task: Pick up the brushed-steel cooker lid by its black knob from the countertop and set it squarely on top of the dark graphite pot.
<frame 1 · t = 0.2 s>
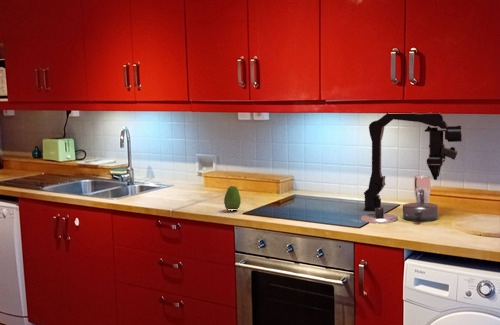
hand: (436, 178, 254), 14 cm above the worktop, tool pointing down, fingers open, 9 cm apart
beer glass: (422, 211, 258), on the worktop
avocado: (232, 211, 277), on the worktop
lid: (379, 220, 246), on the worktop
pot: (420, 217, 245), on the worktop
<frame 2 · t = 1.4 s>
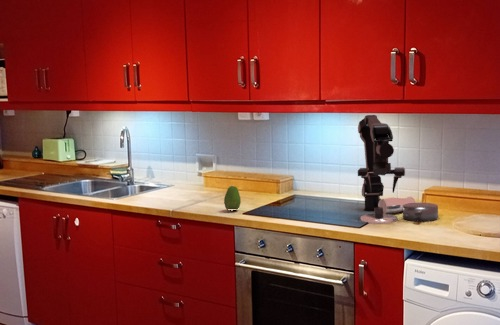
hand: (381, 192, 245), 11 cm above the worktop, tool pointing down, fingers open, 9 cm apart
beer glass: (411, 203, 260), point 3 cm above the worktop
everything else where it was.
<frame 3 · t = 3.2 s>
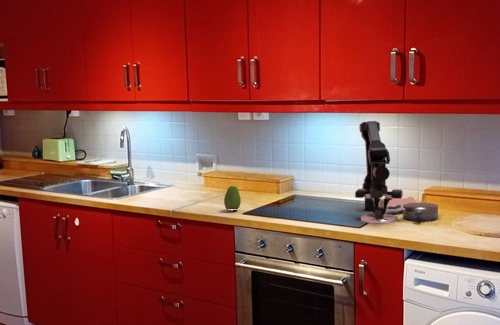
hand: (379, 214, 246), 2 cm above the worktop, tool pointing down, fingers closed on lid, 3 cm apart
lid: (379, 220, 246), on the worktop, touching gripper
everything else where it was.
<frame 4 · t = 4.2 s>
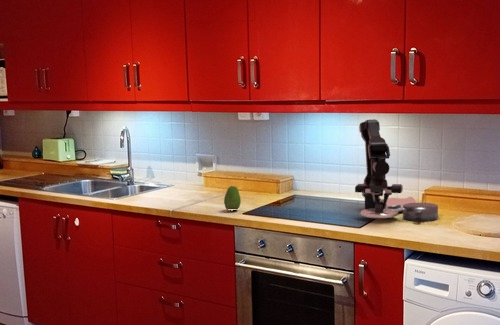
hand: (379, 208, 246), 4 cm above the worktop, tool pointing down, fingers closed on lid, 3 cm apart
lid: (379, 214, 245), point 2 cm above the worktop, touching gripper
everything else where it was.
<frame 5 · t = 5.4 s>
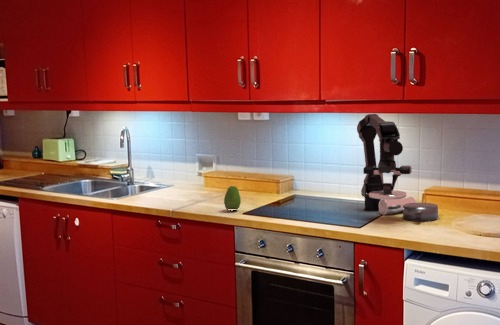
hand: (387, 190, 244), 12 cm above the worktop, tool pointing down, fingers closed on lid, 3 cm apart
lid: (387, 196, 244), point 10 cm above the worktop, touching gripper
everything else where it was.
when the fingers open (8 cm above the worktop, at t = 7.4 s): lid drops 1 cm, resting on pot.
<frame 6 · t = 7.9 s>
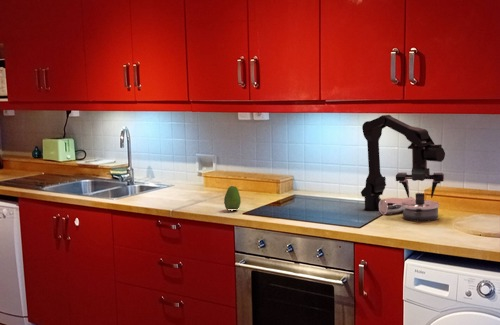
hand: (420, 197, 244), 8 cm above the worktop, tool pointing down, fingers open, 9 cm apart
lid: (420, 206, 244), point 5 cm above the worktop, touching pot
everything else where it was.
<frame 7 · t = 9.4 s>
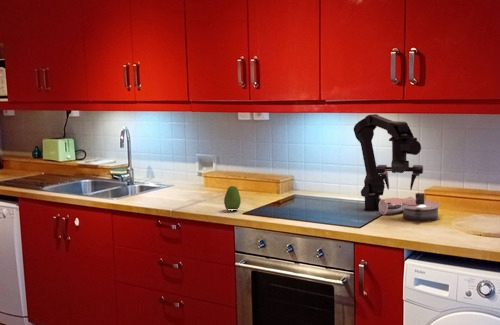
hand: (399, 189, 247), 12 cm above the worktop, tool pointing down, fingers open, 9 cm apart
nothing on the worktop moved.
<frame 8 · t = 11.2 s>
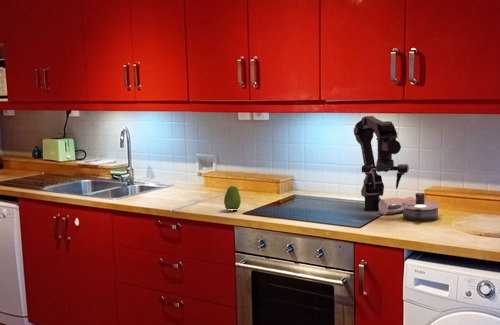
hand: (385, 188, 248), 12 cm above the worktop, tool pointing down, fingers open, 9 cm apart
nothing on the worktop moved.
at the end: lid 0.6 cm off-centre on the pot, point 5.0 cm above the pot's base; lid tilted 0°; the gripper is holding nothing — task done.
